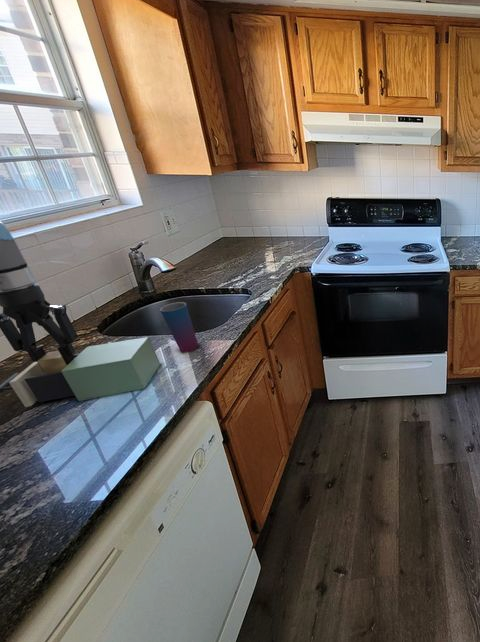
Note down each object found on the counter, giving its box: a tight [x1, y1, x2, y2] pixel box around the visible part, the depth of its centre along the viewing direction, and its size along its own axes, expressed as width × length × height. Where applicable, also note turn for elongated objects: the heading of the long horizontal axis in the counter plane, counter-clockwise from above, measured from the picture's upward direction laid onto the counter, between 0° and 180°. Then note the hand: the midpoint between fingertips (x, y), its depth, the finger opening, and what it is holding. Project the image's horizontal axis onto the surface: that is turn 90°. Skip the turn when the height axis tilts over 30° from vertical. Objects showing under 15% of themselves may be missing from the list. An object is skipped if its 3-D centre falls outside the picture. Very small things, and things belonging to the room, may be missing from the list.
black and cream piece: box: [0, 353, 80, 408], centre depth 97 cm, size 19×11×8 cm, turn 109°
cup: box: [159, 301, 199, 353], centre depth 116 cm, size 7×7×15 cm
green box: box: [61, 336, 161, 402], centre depth 101 cm, size 15×13×10 cm
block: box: [38, 350, 67, 374], centre depth 96 cm, size 4×4×4 cm
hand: (61, 368), depth 97 cm, fingers closed on block, 4 cm apart
